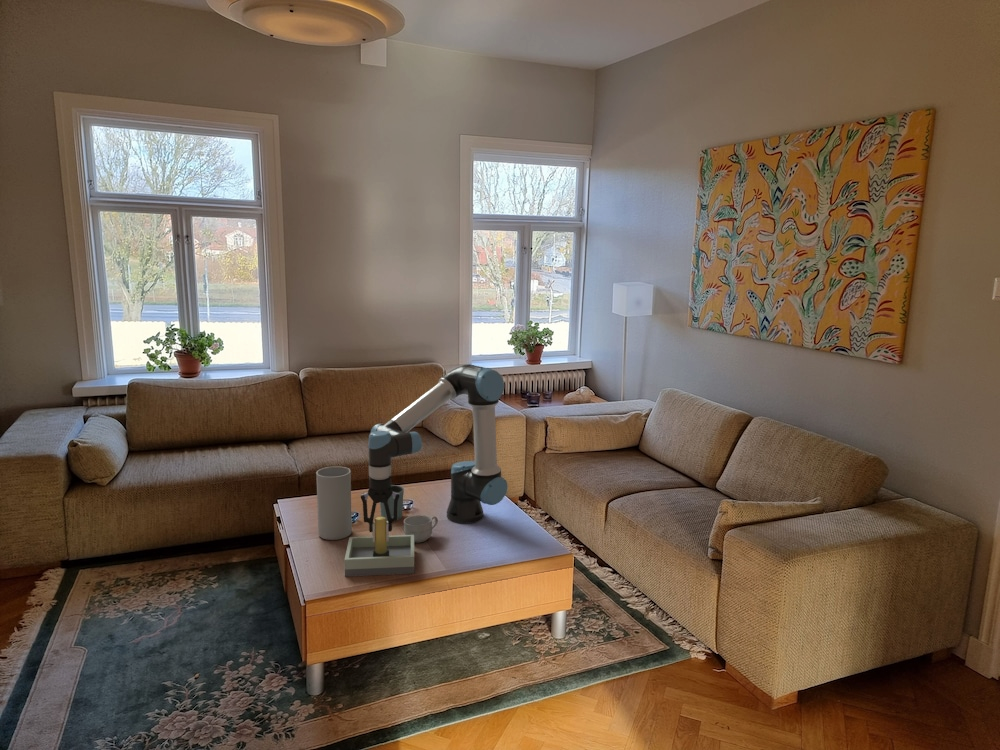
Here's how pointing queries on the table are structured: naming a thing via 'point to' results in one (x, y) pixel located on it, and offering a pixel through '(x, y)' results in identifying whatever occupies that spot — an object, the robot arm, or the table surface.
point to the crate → (379, 556)
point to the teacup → (419, 527)
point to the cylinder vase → (334, 502)
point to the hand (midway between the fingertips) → (380, 540)
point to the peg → (380, 535)
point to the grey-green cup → (391, 503)
